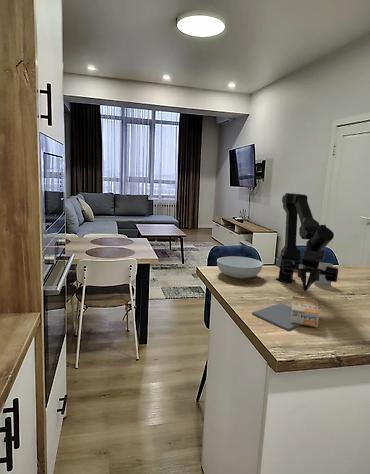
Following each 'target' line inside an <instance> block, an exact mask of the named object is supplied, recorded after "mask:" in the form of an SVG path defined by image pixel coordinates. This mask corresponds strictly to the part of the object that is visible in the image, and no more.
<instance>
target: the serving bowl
mask: <svg viewBox="0 0 370 474" xmlns="http://www.w3.org/2000/svg"><path fill="white" fill-rule="evenodd" d="M216 263H217V264H216V265H217V268H218V270H219V271H220V272H221V273H222V274H224V275H226V276H228V277H232V278H235V279H249V278H253V277H255V276H258V275H259V274H260V272H261V271H262V269H263V266H264V263H263V262H262V261H260V260H258V259H255V258H251V257H247V256H246V257H245V256H223V257H219V258H217V260H216Z"/></svg>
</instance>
